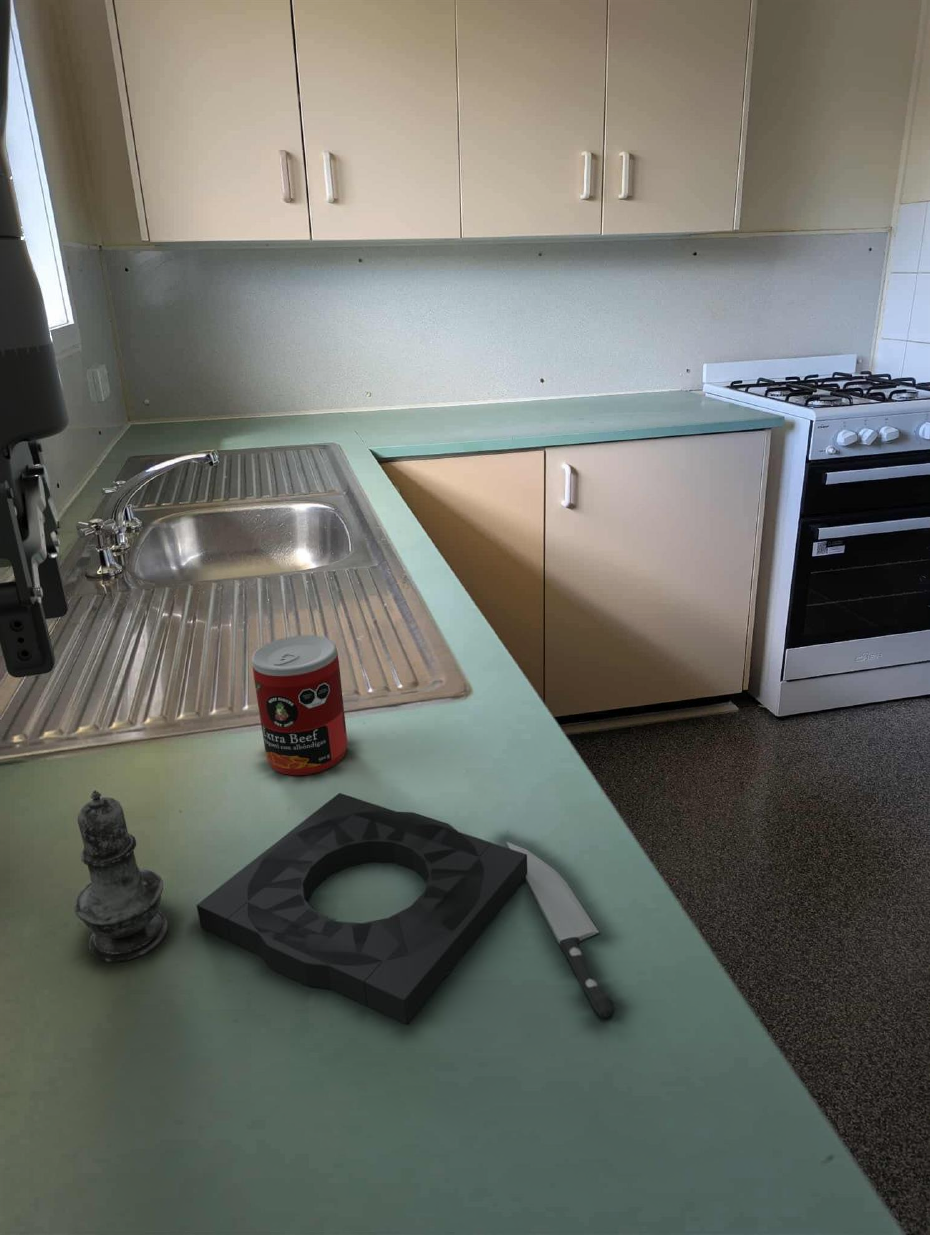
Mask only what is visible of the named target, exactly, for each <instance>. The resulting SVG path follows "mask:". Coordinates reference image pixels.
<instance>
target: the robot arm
mask: <svg viewBox="0 0 930 1235" xmlns="http://www.w3.org/2000/svg"><path fill="white" fill-rule="evenodd" d="M11 26H12V0H0V569H2V568H9V567H11V568H12V572H13V576H14V580H13V581H5V582H0V649H1V652H2V656H3V659H4V664H5V668H6V672H7V673H8V675H10V676H11V677H13V678H16V679H20V678H26V677H27V678H28V677H32V676H39V675H44V674H48V673H51V671H53V669H54V667H55V663H56V657H55V652H54V648H53V644H52V640H51V636H50V632H49V626H48V623H47V620H50V619H57V618H62V617H65V616H66V615H67V613H68V610H69V602H68V596H67V592H66V588H65V584H64V578H63V575H62V570H61V567H60V561H59V557H58V554H57V553H59V552H60V547H61V541H60V539H59V537H57V535H58V536H59V535H60V529H61V523H60V520H59V519H58V515H57V514H58V513H57V509H56V506H55V503H54V501H53V496H52V492H51V479H50V474H49V472H48V470H47V467H46V465H45V463H44V458H43V454H42V453H43V445H42V443H41V442H40V441H39V440H43V439H47V438H50V437H53V436H56V435H58V434H60V433H62V432H64V431H65V430H66V429H67V428H68V426H69V420H70V419H69V414H68V409H67V405H66V400H65V396H64V395H65V394H64V391H63V384H62V381H61V377H60V376H61V375H60V371H59V366H58V362H57V356H56V353H55V347H54V343H53V338H52V334H51V329H50V324H49V320H48V319H49V318H48V315H47V314H48V313H47V309H46V305H45V300H44V296H43V292H42V288H41V285H40V282H39V278H38V275H37V272H36V270H35V268H34V264H33V262H32V259H31V255H30V253H29V250H28V245H27V242H26V240H24V238H25V234H24V228H23V224H22V219H21V215H20V211H19V210H20V209H19V205H18V200H17V196H16V192H15V187H14V182H13V176H12V175H13V174H12V172H11V166H10V162H9V160H8V155H7V147H6V146H7V145H6V142H7V141H6V140H7V139H6V138H7V119H8V110H9V109H8V108H9V82H10V81H9V78H10V77H9V74H10V51H11Z"/></svg>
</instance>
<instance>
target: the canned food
mask: <svg viewBox="0 0 930 1235" xmlns="http://www.w3.org/2000/svg"><path fill="white" fill-rule="evenodd" d="M338 652H339V651H338V648H337V644H336V643H335V642H334V641H333V640H332V639H330V638H329V637H325V636H320V635H312V634H311V635H310V634H302V635H292V636H287V637H283V638H278V639H275V640H272V641H270V642H268V643H265V644H264V645H261V646H260V647H259V648H257V649H256V650H255V651H254V652H253V654H252V656H251V667H252V675H253V681H254V688H255V695H256V701H257V707H258V714H259V721H260V726H261V732H262V740H263V746H264V752H265V757H266V760H267V761H268V764H269V765H270V767H271V768H272V769H273V770H275V771H276V772H278V773H281V774H284V775H288V776H307V775H312V774H317V773H320V772H322V771H326V770H327V769H330V768H332V767H334V766H335V765H337V764H338V763H339V762H340V761H341V760H342V759H343V757H344V756H345V754H346V751H347V746H348V734H347V726H346V725H347V724H346V716H345V707H344V705H345V704H344V696H343V686H342V679H341V668H340V659H339V653H338Z"/></svg>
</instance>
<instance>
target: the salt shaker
mask: <svg viewBox="0 0 930 1235" xmlns="http://www.w3.org/2000/svg"><path fill="white" fill-rule="evenodd" d="M89 798H90V799H91V800H90V801H88V802H87V803H86V804H84V805H83V806H82V807H81V808H80V810H79V811H78V814H77V824H78V828H79V831H80V837H81V840H82V844H83V848H82V850H81V852H80V856H79V858H80V860H81V862H82V863H83V864H84V865H86V866H87V868H88V872H89V876H90V882H89V883H88V884H86V885H85V886H84V887H83V888H82V890H80V892H79V893H78V895H77V897H76V899H75V901H74V906H73V910H74V912H75V915H76V917H77V918H78V919H79V920H81V921H82V923H83V924H84V925H85V926H86V927H87V928H88V929H89V930H90V931H91V932H92V934H91V936H90V938H89V942H88V948H89V950H90V953H91V954H92V955H93V957H95V959H97V960H100V961H102V962H108V963H118V962H119V963H120V962H121V963H122V962H126V961H129V960H133V959H136V958H139V957H141V956H143V955H145V954H147V953H148V952H150V951H152V950H153V949H154V948H155V947H156V946H158V945H159V944H160V943H161V941H162V940H163V939H164V937H165V936H166V933H167V932H168V928H169V927H168V925H169V924H168V923H169V922H168V920H167V918H166V916H165V915H164V914H163V913H162V912H161V911H159V908H160V904H161V901H162V900H161V899H162V893H163V891H164V880H163V878H162V875H161V874H159V872H156V871H155V870H153V869H150V868H147V867H139V866H138V864H137V861H136V855H135V851H134V850H135V849H136V847H137V839H136V837H135V835H133V834H130V833H129V830H128V826H127V822H126V817H125V812H124V808H123V806H122V805H121V802H119V801H118V799H117V800H116V799H115V798H113V797H105V796H104V797H102V793H101V792H99V791H97V790H94V789H93V791H92V793H91V795H90V797H89Z"/></svg>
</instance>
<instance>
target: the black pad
mask: <svg viewBox="0 0 930 1235" xmlns="http://www.w3.org/2000/svg"><path fill="white" fill-rule="evenodd" d="M373 862H375V863H376V862H377V863H378V862H379V863H389V864H391V863H392V864H393V863H394V864H397V865H400V866H403V867H405V868H408V869H411V870H413V871H415V872H416V874H417V875H419V876H420V877H421V878H422V879H423V880H424V881H426V886H425V889H424V891H423V893H421V894H420V896H418V898H417V899H416V900H415V901H414V902H413V903H412V904H411V905H410V906H409V907H407V908H404V909H402V910H400V911H399V912H397V913H395V914H393V915H391V916H389V917H385V918H381V919H375V920H371V921H366V922H354V921H339V920H338V921H337V920H336V919H332V918H330V917H328V916H325V915H323V914H322V913H321V914H320V913H319V912H316V910H315V909H314V908H313V907H312V906H311V905H310V903H309V900H310V897H311V896H312V893H313V891H314V889H315V888H316V887H317V886H319V885H320V884H321V883H322V882H323V881H324V880H326V879H327V878H328V877H329V876H330V875H333V874H334V873H337V872H340V871H341V870H343V869H345V868H347V867H350V866H356V865H360V864H367V863H373ZM526 875H527V854H524V853H521V852H518V851H515V850H512V849H510V848H509V847H505V846H502V845H499V844H496V843H494V842H491V841H487V840H485V839H481V838H478V837H476V836H472V835H470V834H467V833H463V832H460V831H458V830H457V829H456V828H455V827H454V826H452V825H451V824H449V823H447V822H444V821H441V820H438V819H435V818H432V817H429V816H426V815H422V814H419V813H417V812H412V811H397V810H394V809H390V808H387V807H384V806H381V805H378V804H375V803H372V802H369V801H365V800H363V799H360V798H357V797H353V796H350V795H347V794H344V793H341V792H338V793H337V794H335V796H333V797H332V798H331V799H330V800H328V801H327V802H326V803H324V804H323V805H322V806H321V807H320V808H318V809H317V810H316V811H315V812H313V813H312V814H310V816H308V817H307V818H306V819H304V820H303V821H301V823H299V824H297V825H296V826H295V827H294V828H293V829H291V830H290V831H289V832H287V833H286V834H285V835H284V836H282V837H281V838H280V839H279V840H277V841H276V842H275V843H274V844H273V845H271V846H270V847H268V848H267V849H266V850H264V851H263V852H262V853H261V854H259V855H258V856H257V857H256V858H255V859H253V860H252V861H251V862H249V863H248V864H247V865H245V867H243V868H242V869H240V870H239V871H237V873H235V874H233V876H232V877H229V879H228V880H226V881H225V882H224V883H223V884H221V885H220V886H219V887H218V888H216V889H215V890H213V891H212V892H211V893H210V894H208V895H207V896H206V897H205V898H203V899H202V900H201V901H199V903H197V904H196V910H197V915H198V921H199V925H200V928H201V929H204V930H206V931H208V932H210V933H212V934H214V935H216V936H218V937H220V938H223V939H224V940H227V941H229V942H231V943H233V944H236V945H238V946H240V947H242V948H244V949H246V950H248V951H250V952H252V953H255V954H257V955H259V956H261V957H262V958H263V959H264V961H265V962H266V963H267V965H268V966H269V968H270V969H272V970H274V971H275V972H277V973H279V974H282V975H284V976H285V977H288V978H290V979H292V980H294V981H296V982H298V983H301V984H302V985H305V986H307V987H311V988H316V989H330V990H333V991H335V992H337V993H338V994H341V995H343V996H345V997H347V998H350V999H352V1000H354V1001H356V1002H358V1003H360V1004H362V1005H364V1006H367V1007H369V1008H371V1009H373V1010H375V1011H377V1012H379V1013H382V1014H383V1015H386V1016H387V1017H390V1018H392V1019H394V1020H396V1021H398V1022H401V1023H402V1024H404V1025H408V1024H409V1022H411V1020H412V1019H413V1017H414V1016H415V1015H416V1014H417V1013H418V1012H419V1010H420V1009H421V1007H423V1005H424V1004H425V1003H426V1001H427V1000H429V998H430V996H432V994H433V993H434V991H435V990H436V989H437V988H438V987H439V986H440V984H441V983H442V982H443V980H444V979H445V978H446V977H447V976H448V974H449V973H450V972H451V971H452V970H453V969H454V967H455V966H456V965H457V963H458V962H459V961H460V960H461V958H462V957H463V956H464V955H465V953H467V951H468V950H469V948H470V947H471V946H472V945H473V944H474V942H475V941H476V940H477V939H478V938H479V936H480V935H481V934H482V933H483V931H484V930H485V929H486V928H487V926H488V925H489V924H490V923H491V922H492V920H493V919H494V918H495V917H496V916H497V914H498V913H499V912H500V911H501V909H502V908H503V907H504V905H505V904H506V903H507V902H508V901H509V899H510V898H511V897H512V896H513V894H514V893H516V891H517V890H518V888H519V887H520V886H521V885H522V883H524V881H526V880H525V876H526Z"/></svg>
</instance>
